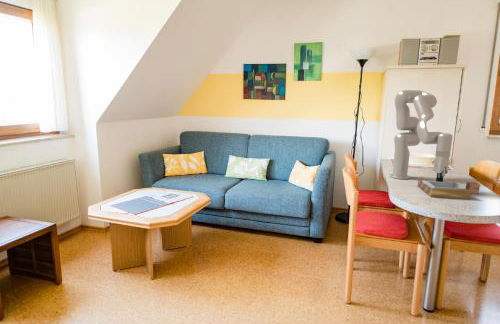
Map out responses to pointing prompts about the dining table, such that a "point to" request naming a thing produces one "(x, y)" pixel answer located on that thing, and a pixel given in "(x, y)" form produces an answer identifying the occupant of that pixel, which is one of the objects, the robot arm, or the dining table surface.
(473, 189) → the block
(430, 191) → the bay
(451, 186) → the grey tray
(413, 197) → the dining table surface
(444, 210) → the dining table surface
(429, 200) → the dining table surface
